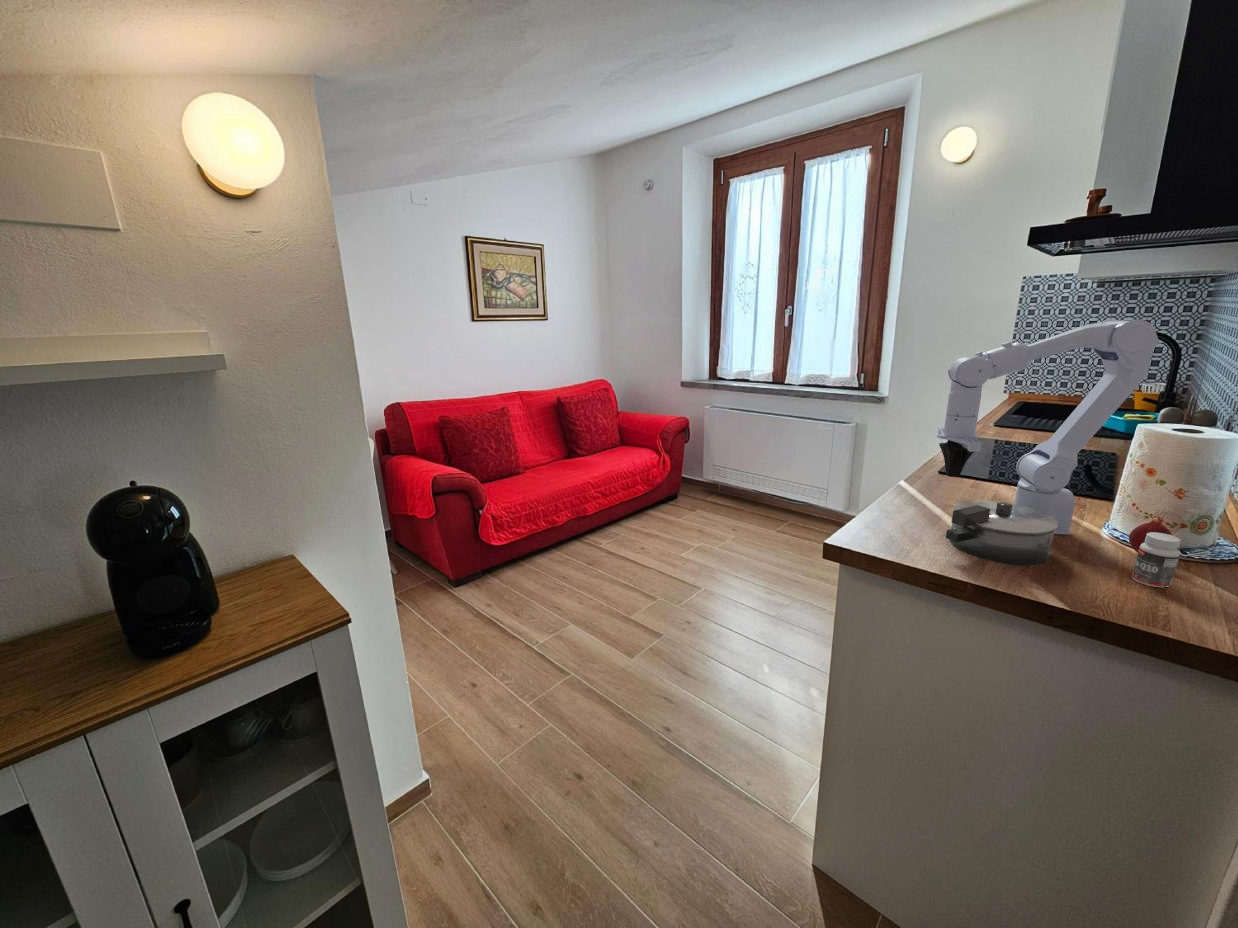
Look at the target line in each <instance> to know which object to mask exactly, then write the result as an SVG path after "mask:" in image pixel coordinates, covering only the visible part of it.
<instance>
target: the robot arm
mask: <svg viewBox="0 0 1238 928" xmlns="http://www.w3.org/2000/svg"><path fill="white" fill-rule="evenodd" d="M1158 344H1160V339H1159V337H1158V334H1157V331H1156V328H1155V327H1154V326H1153V324H1151V323H1150V322H1149V321H1146V320H1143V319H1132V320H1118V319H1107V320H1103V321H1100V322H1095V323H1090V324H1085V325H1081V326H1079V327H1075V328H1073V329H1070V330H1067V331H1064V332H1062V333H1058V334H1056V335H1055V334H1054V335H1053V336H1050V337H1047V338H1044V339H1041V340H1039V341H1036V342H1032V343H1030V344H1027V345H1025V344H1023V343H1021V342H1019V341H1018V342H1013V343H1012V341H1006V342H1002V343H1001V347H997V348H996V347H995V348H994V349H991V350H987V351H984V352H983V351H976V352H975V355H974V357H971V356H964V357H961V358H958V359H956V360H955V361H954V362H953V363H952V364H951V366H950V368H949V369H948V370H947V373H948V374H947V375H948V377H949V379H950V381H951V383H950V387H949V388H950V389H949V393H948V398H947V406H946V413H945V414H946V415H945V420H944V427H943V428H942V427H941V428H938V432H937V436H936V438H939V439H940V440H947V441H946V442H940V443H939V444H938V445H939V448H940V450H941V453H942V456H943V460H944V468H945V474H946V476H947V477H949V478H950V477H951V478H959V477H960V476H961V474H962V471H963V469H964V467H965V465H966V463H967V462H968V460H969V459H970V458H971V456H972V455H973V454H974V453H975V452H976V453H977V452H981V450H982V449H981V448H982V442H981V441H979V439H978V438H977V436H976V432H977V431H976V430H977V427H978V426H977V425H978V424H977V423H978V418H979V412H980V405H981V399H982V392H983V391H982V390H983V385H984V384H985V383H986V382H987V381H988V380H993V379H997V378H1000V377H1003V376H1006V375H1010V374H1014V373H1017V372H1021V371H1022V370H1025V369H1027V368H1028V367H1029V366H1030V364H1031V363H1032V362H1033V361H1035V360H1039V359H1042V358H1046V357H1050V356H1054V355H1057V354H1061V353H1065V352H1069V351H1072V350H1076V349H1080V348H1088V349H1091V350H1093V352H1094V353H1095V354H1096V355H1097V357H1099V358H1100V359H1101V362H1102V364H1103V369H1104V372H1105V374H1103V376H1102V377H1101V378H1100V379H1099V381H1098V382H1097V383H1096V384H1095V385H1094V386H1093V387H1092V389H1090V391H1089V392H1088V393H1087V395H1086V396H1085V397H1084V398H1083V399H1082V400H1081V402H1080V403H1079V404H1078V405H1077V406H1076V408H1075V409H1074V410H1073V411H1072V412H1071V413H1070V414H1069V416H1067V418H1066V419H1065V420H1064V421H1063V423H1062V424H1061V425H1060V426H1059V427H1058V429H1057V430H1056V431H1055V432H1054V433H1053V434H1052V436H1051V437H1050V438H1049V439H1047V440H1045V441H1044V442H1041V443H1039V444H1037V445H1036V446H1035V447H1034V448H1033V450H1031V451H1030V452H1028V453H1026V454H1023V455H1022V456H1021V457H1020V458H1019V459H1018V461H1017V462H1016V465H1015V470H1016V473H1017V474H1018V475H1019V476H1020V479H1019V480H1018V482H1017V487H1016V492H1015V498H1014V503H1013V504H1016V505H1021V506H1025V507H1029V508H1032V509H1036V510H1038V511H1041V512H1044V513H1046V514H1048V515H1050V516H1052V517H1053V518H1055V519H1056V520H1057V522H1058V526H1057V529H1056V531H1054V535H1069V536H1070V535H1072V532H1071V531H1070V529H1071V524H1072V520H1073V516H1074V511H1075V507H1076V506H1075V504H1076V502H1075V496H1074V493H1073V492H1072V491H1071V490H1069V489H1067V488H1065V487H1066V486H1067V485H1068V484H1069V483H1070V480H1071V476H1072V473H1073V471H1074V470H1075V469H1076V467H1077V466H1078V454H1079V452H1080V451H1082V449H1083V448H1084V447H1085V446H1086V445H1087V443H1088V442H1089V441H1090V440H1091V439H1092V438H1093V437H1094V435H1096V433H1097V432H1098V431H1100V429H1101V428H1102V427H1103V426H1104V425H1105V423H1106V422H1107V421H1108V420H1109V418H1111V417H1112V415H1113V414H1114V413H1115V412H1116V411H1117V410H1118V409H1119V408H1120V407H1121V405H1122V404H1123V403H1124V402H1125V401H1126V400H1127V399H1128V398H1129V396H1130V395H1131V394H1132V393H1133V391H1135V390H1136V388H1138V386H1139V385H1140V384H1141V383H1142V382H1143V381H1144V379H1145V378H1146V377H1147V374H1148V371H1149V368H1150V364H1151V359H1152V355H1153V350H1155V348H1156V347H1157V346H1158Z"/></svg>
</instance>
